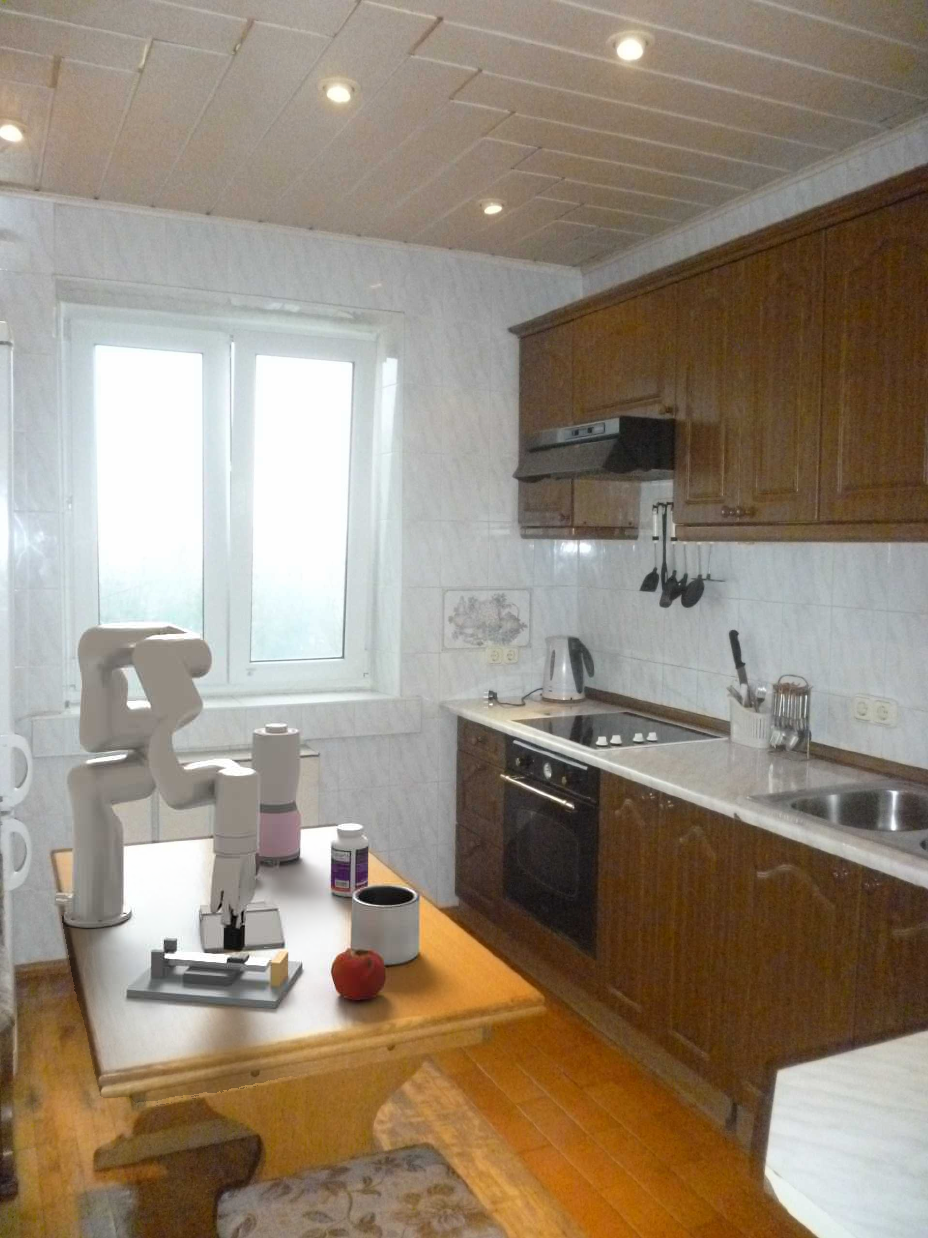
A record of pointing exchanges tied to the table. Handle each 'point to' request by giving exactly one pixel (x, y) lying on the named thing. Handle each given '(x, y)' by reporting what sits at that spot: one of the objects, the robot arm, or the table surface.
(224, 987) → the clamp base
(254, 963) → the clamp bar
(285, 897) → the table surface
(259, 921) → the gadget
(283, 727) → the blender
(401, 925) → the planter
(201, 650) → the robot arm
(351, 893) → the pill bottle
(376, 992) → the tomato
